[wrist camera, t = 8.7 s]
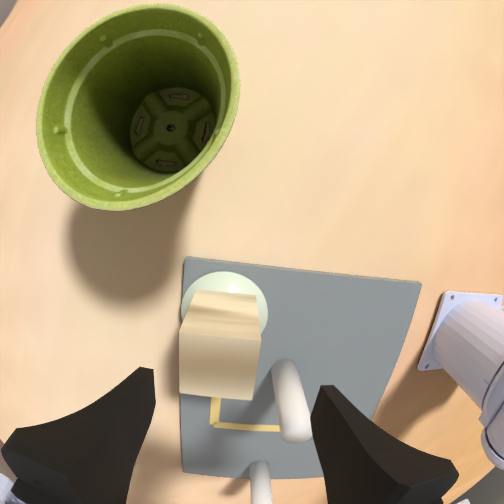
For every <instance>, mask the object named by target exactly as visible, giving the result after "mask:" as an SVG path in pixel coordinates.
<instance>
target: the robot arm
mask: <svg viewBox="0 0 504 504" xmlns="http://www.w3.org/2000/svg"><path fill="white" fill-rule="evenodd" d="M451 296H452V297H451ZM450 297H451V298H450ZM502 302H503V296H502V295H500V294H486V293H471V292H457V291H446V292H444V294H443V296H442V299H441V302H440V305H439V309H438V312H437V315H436V318H435V321H434V324H433V327H432V330H431V332H430V335H429V338H428V341H427V343H426V346H425V348H424V351H423V353H422V356H421V358H420V361H419V363H418V366H417V368H418V370H419V371H427V370H436V369H444V370H445V371H446V372H447V373H448V374H449V375H450V376H451V377H452V378H453V380H454V381H455V382H456V383H457V384H458V385H459V386H460V387H461V388H462V389H463V390H464V391H465V393H466V394H467V395H468V396H469V397H470V398H471V399H472V400H473V401H474V402H475V404H476V405H477V406H478V407H479V408H480V409H481V410H482V414H481V416H480V417H479V421H480V422H481V423H482V424H483V426H484V429H483V430H482V433H481V443H482V447H483V449H484V452H485V454H486V456H487V458H488V459H489V460H490V461H491V462H492V463H493V464H494V465H495V466H497V467H498V468H500V469H502V470H504V307H503V306H501V305H502ZM155 404H156V400H155V387H154V372H153V369H149V368H144V367H139V368H138V369H136V370H135V371H134V372H133V373H132V374H131V375H129V376H128V377H127V378H126V379H125V380H123V381H122V382H121V383H120V384H119V385H117V386H116V387H115V388H113V389H112V390H111V391H110V392H108V393H107V394H105V395H104V396H103V397H101V398H100V399H98V400H97V401H95V402H94V403H92V404H90V405H89V406H87V407H85V408H83V409H81V410H79V411H77V412H75V413H73V414H70V415H68V416H65V417H63V418H60V419H58V420H54V421H51V422H48V423H44V424H40V425H36V426H30V427H24V428H16V430H15V431H14V432H13V433H12V434H11V436H10V437H9V439H8V440H7V441H6V443H5V444H4V446H3V447H2V449H1V452H2V456H3V457H4V460H5V461H6V463H7V464H8V466H9V467H10V468H11V470H12V471H13V473H14V474H15V475H16V477H17V478H18V479H17V480H16V482H15V483H14V482H13V481H12V480H11V479H9V478H8V477H7V476H5V475H4V474H2V473H0V504H126V499H127V494H128V490H129V485H130V480H131V476H132V472H133V468H134V465H135V462H136V459H137V456H138V454H139V451H140V448H141V446H142V443H143V441H144V439H145V436H146V434H147V431H148V428H149V426H150V423H151V420H152V416H153V413H154V408H155ZM310 422H311V430H312V436H313V440H314V444H315V447H316V451H317V454H318V458H319V461H320V464H321V468H322V471H323V475H324V480H325V486H326V492H327V500H328V504H443V501H442V499H441V497H442V496H443V495H444V494H445V493H446V492H447V491H448V490H449V489H450V488H451V487H452V486H453V485H454V484H455V482H456V481H457V479H458V477H459V473H458V471H457V470H456V468H455V466H454V465H453V463H452V462H451V460H448V459H445V458H441V457H437V456H434V455H431V454H428V453H425V452H423V451H420V450H418V449H415V448H413V447H411V446H409V445H407V444H405V443H403V442H401V441H399V440H398V439H396V438H394V437H393V436H391V435H390V434H388V433H387V432H385V431H384V430H382V429H381V428H379V427H378V426H377V425H376V424H374V423H373V422H372V421H371V420H369V419H368V418H367V417H366V416H365V415H364V414H363V413H362V412H360V411H359V410H358V409H357V408H356V407H355V406H354V405H353V404H352V403H351V402H350V401H349V400H348V399H347V398H346V397H345V396H344V395H343V394H342V393H341V392H340V391H339V390H338V389H337V388H336V387H335V386H334V385H321V386H320V389H319V392H318V395H317V398H316V401H315V404H314V407H313V410H312V413H311V416H310ZM457 504H470V502H469V500H468V499H465V500H463V501H461V502H459V503H457Z"/></svg>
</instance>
